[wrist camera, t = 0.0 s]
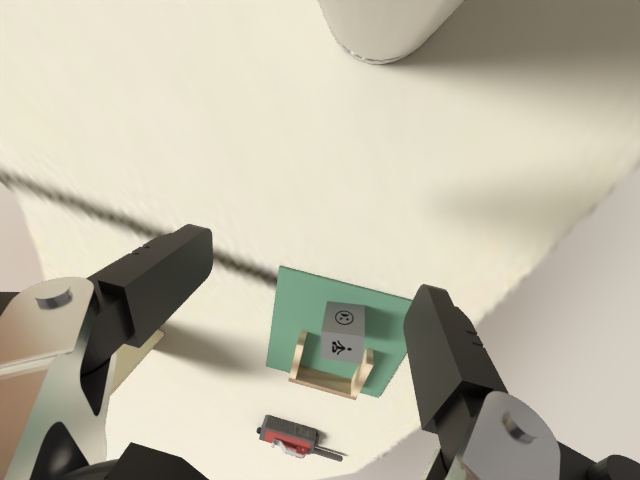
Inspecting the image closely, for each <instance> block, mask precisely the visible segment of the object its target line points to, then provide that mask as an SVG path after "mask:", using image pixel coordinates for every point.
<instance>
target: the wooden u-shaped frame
mask: <svg viewBox="0 0 640 480" xmlns="http://www.w3.org/2000/svg"><path fill="white" fill-rule="evenodd" d="M306 335H307V331H303V330H301V331H300V335H299V338H298V342H297V345H296V350H295V354H294V359H293V363H292V368H291V372H290V376H289V381H290V382H293V383H297V384H300V385H304V386H307V387H311V388H315V389H318V390H322V391H325V392H329V393H332V394H336V395H339V396H343V397H346V398H350V399H353V400H356V398H357V396H358V394H359V392H360V390H361V388H362V386H363V385H364V383H365V381H366V379H367V377H368V375H369V373H370V371H371V369H372V367H373V349H369V348H366V350H365V352H364V354H363V356H362V364H359V365H358V367H357V369H356V371H355V373H354V375H353V378H352V379H348V378H345V377H341V376H338V375H334V374H331V373H327V372H323V371H320V370H316V369H313V368H309V367H305V366H302V365H299V363H300V359H301V355H302V351H303V347H304V343H305V339H306Z"/></svg>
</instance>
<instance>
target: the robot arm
mask: <svg viewBox="0 0 640 480" xmlns="http://www.w3.org/2000/svg"><path fill="white" fill-rule="evenodd" d="M317 1H318V3H319V5H320V8H321V10H322V12H323V14H324V17H325V19H326V21H327V23H328V25H329V27H330V30H331V31H332V33H333V35H334V37H335V38H336V40H337V42H338V43H339V44H340V46H341V47H342V48H343V49H344V50H345V51H346V52H347V53H348V54H350V55H351V56H353V57H354V58H356V59H357V60H360V61H363V62H366V63H369V64H386V63H392V62H395V61H397V60H400V59H402V58H404V57H406V56H408V55H409V54H411V53H412V52H414V51H415V50H417V49H418V48H419V47H420V46H421V45H422V44H423V43H424V42H425V41H426V40H427V39H428V38H429V37H430V36H431V35H432V34H433V33H434V32H435V31H436V30H437V29H438V28H439V27H440V26H441V25H442V24H443V23H444V22H445V20H446V19H447V18H448V17H449V16H450V15H451V14H452V13H453V12H454V11H455V10H456V9H457V8H458V7H459V6H460V5H461V3H462V2H463V1H464V0H317ZM212 266H213V246H212V232H211V230H210V229H208V228H204V227H200V226H196V225H192V224H187V225H185V226H184V227H182V228H180V229H179V230H177V231H175V232H174V233H170V234H166V235H163V236H160V237H157V238H154V239H153V240H151V241H149V242H148V243H146V244H144V245H143V247H139V248H137V249H136V250H134V251H132V253H131V254H130V253H129V254H127V255H125V256H124V257H122V258H120V259H119V260H117V261H115V262H114V263H112V264H110V265H108V266H107V267H105V268H103V269H102V270H100V271H98V272H96V273H95V274H93V275H91V276H90V277H88V278H86V279H85V278H80V277H63V278H57V279H52V280H48V281H45V282H42V283H39V284H36V285H34V286H31V287H29V288H27V289H25V290H24V291H22V292H0V480H209V479H208V478H206V477H205V476H204V475H203V474H201V473H200V472H199V471H198V470H196V469H195V468H194V467H193V466H191V465H190V464H189V463H188V462H187V461H185V460H184V459H183V458H181V457H178V456H175V455H171V454H168V453H165V452H162V451H158V450H155V449H152V448H148V447H145V446H142V445H138V444H135V443H132V442H131V443H130V444H129V446H128V447H127V448H126V450H125V451H124V453H123V454H122V455H121V457H120V458H119V459H115V460H110V461H106V455H107V443H106V433H105V424H106V416H107V411H108V405H109V399H110V394H111V388H112V382H113V377H114V371H115V365H116V360H117V355H116V351H117V350H118V349H119V348H120V347H121V346H122V345H123V344H126V345H130V346H133V347H137V348H141V347H142V345H143V344H144V343H145V342H146V341H147V340H148V339H149V338H150V337H151V336H152V335H153V334H154V333H155V332H156V331H157V330H158V329H159V328H160V327H161V326H162V325H163V324H164V323H165V322H166V320H167V319H168V318H169V317H170V316H171V315H172V314H173V313H174V312H175V311H176V310H177V309H178V308H179V307H180V306H181V305H182V304H183V303H184V302H185V301H186V300H187V299H188V298H189V297H190V296H191V294H192V293H193V292H194V291H195V290H196V289H197V288H198V287H199V286H200V285H201V284H202V283H203V282H204V281H205V280H206V279H207V278H208V276H209V274H210V272H211V270H212ZM403 331H404V336H405V342H406V347H407V352H408V358H409V363H410V368H411V374H412V379H413V384H414V390H415V395H416V400H417V406H418V411H419V416H420V421H421V427H422V430H425V431H428V432H432V433H435V434H438V437H439V441H440V446H439V447H438V448H437V449H436V451H435V453H434V455H433V457H432V459H431V461H430V463H429V465H428V467H427V469H426V471H425V474H424V475H423V478H422V479H421V480H640V464H639V463H637V462H636V461H634V460H632V459H629V458H627V457H624V456H621V455H611V456H608V457H607V458H605V459H603V460H601V461H600V462H598V463H596V462H594V461H592V460H590V459H589V458H587V457H585V456H583V455H581V454H580V453H578V452H576V451H575V450H573V449H571V448H569V447H567V446H566V445H564V444H562V443H560V442H558V441H557V440H556V438H555V437H554V435H553V433H552V432H551V430H550V429H549V427H548V426H547V424H546V423H545V422H544V421H543V420H542V418H541V417H540V416H539V415H538V414H537V413H536V412H535V411H534V410H532V409H531V408H530V407H529V406H528V405H526V404H525V403H524V402H522V401H521V400H519V399H518V398H516V397H514V396H512V395H510V394H509V393H508V391H507V389H506V387H505V386H504V384H503V382H502V380H501V378H500V376H499V374H498V372H497V370H496V368H495V366H494V365H493V363H492V361H491V359H490V357H489V355H488V353H487V351H486V349H485V348H483V344H482V342H481V340H480V338H479V336H477V332H476V330H475V328H474V326H473V325H472V323H471V321H470V319H469V318H468V317H467V316H466V315H465V314H464V313H463V312H462V311H461V310H460V309H459V308H458V307H455V306H454V304H453V302H452V300H451V298H450V296H449V294H448V292H447V291H446V290H445V289H441V288H437V287H434V286H430V285H426V284H423V285H421V286H420V288H419V289H418V291H417V293H416V295H415V297H414V299H413V301H412V303H411V305H410V307H409V309H408V311H407V313H406V315H405V319H404V324H403Z"/></svg>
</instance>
